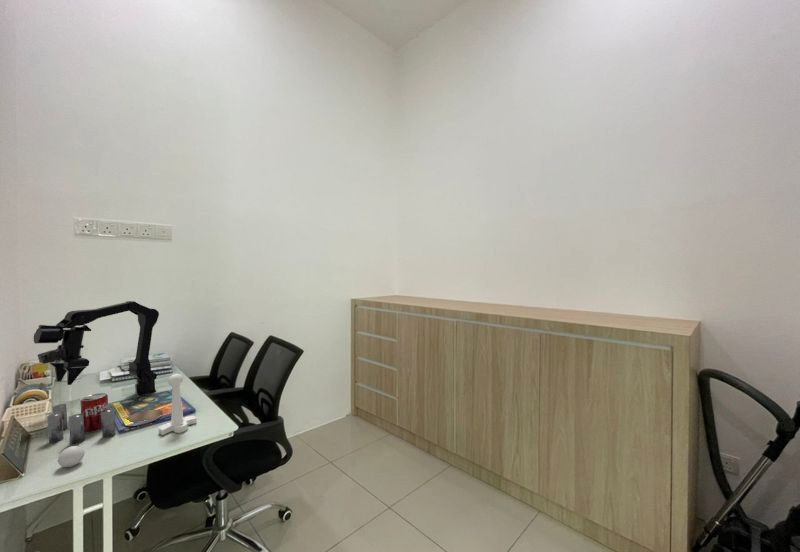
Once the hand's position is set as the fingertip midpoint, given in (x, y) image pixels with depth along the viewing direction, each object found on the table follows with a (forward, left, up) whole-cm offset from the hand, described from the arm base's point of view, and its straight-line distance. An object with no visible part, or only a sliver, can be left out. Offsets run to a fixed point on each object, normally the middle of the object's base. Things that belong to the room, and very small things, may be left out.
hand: (64, 383), depth 126 cm
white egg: (+3, +44, -14) cm, 46 cm away
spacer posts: (-2, +21, -14) cm, 26 cm away
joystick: (-25, +46, -14) cm, 54 cm away
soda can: (-6, +21, -14) cm, 26 cm away
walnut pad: (-19, +26, -14) cm, 35 cm away
